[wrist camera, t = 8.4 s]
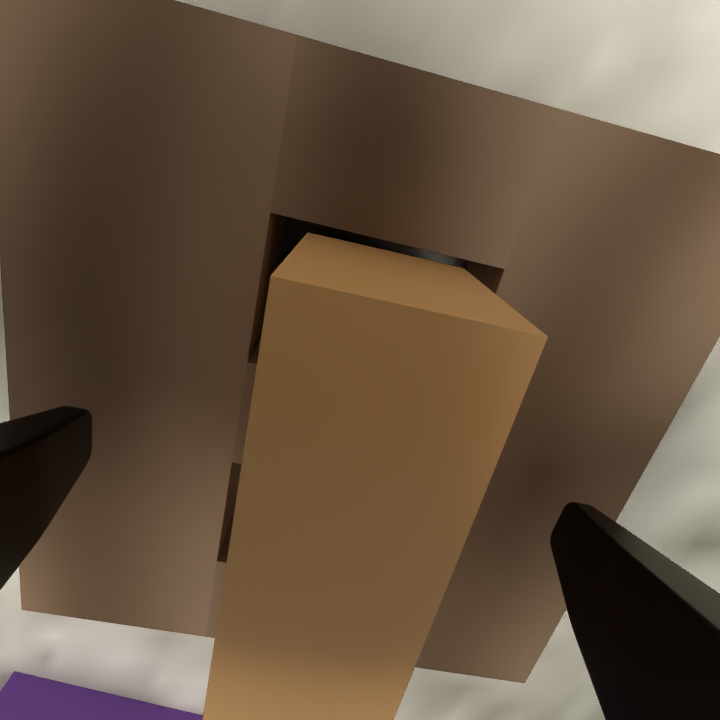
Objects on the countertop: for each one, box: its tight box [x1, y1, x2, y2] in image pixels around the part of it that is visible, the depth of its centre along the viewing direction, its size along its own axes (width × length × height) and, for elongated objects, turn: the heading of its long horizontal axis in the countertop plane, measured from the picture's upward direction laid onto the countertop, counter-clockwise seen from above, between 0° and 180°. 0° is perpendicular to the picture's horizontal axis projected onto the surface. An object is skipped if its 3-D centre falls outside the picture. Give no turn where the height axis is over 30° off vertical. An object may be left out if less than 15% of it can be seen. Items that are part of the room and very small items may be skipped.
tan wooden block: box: [203, 232, 548, 720], centre depth 9 cm, size 3×8×6 cm, turn 168°
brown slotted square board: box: [0, 0, 720, 683], centre depth 11 cm, size 14×14×2 cm
